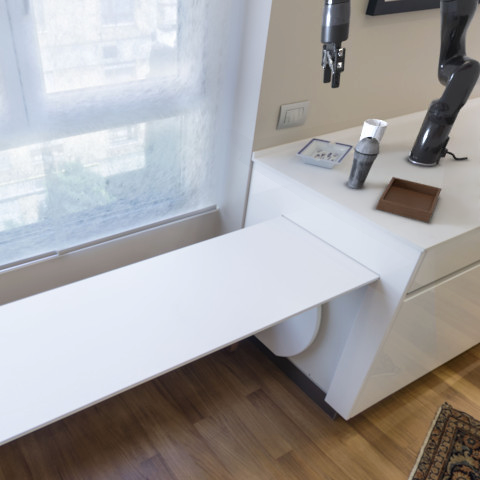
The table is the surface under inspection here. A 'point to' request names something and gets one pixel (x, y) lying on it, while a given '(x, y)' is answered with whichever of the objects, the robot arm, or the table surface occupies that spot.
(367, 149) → the beverage cup
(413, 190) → the tray
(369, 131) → the white cup
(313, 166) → the table surface
